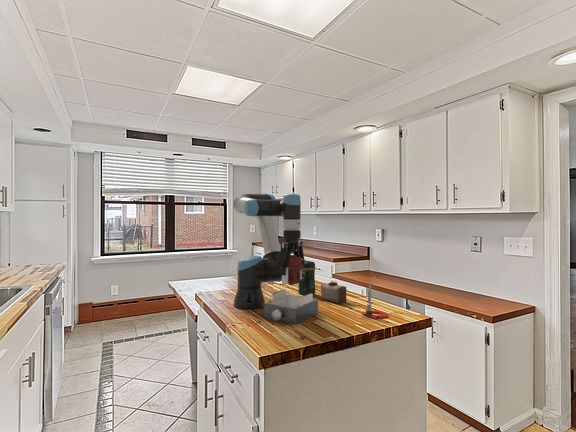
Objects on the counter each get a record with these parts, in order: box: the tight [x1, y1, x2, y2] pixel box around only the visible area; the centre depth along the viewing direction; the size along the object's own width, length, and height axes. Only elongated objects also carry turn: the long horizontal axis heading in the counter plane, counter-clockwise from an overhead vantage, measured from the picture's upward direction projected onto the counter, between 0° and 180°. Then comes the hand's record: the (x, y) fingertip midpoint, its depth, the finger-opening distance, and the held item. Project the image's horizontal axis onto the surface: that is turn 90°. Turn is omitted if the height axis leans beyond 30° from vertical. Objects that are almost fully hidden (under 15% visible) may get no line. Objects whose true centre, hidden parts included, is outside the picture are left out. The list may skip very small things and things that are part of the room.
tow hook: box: [361, 284, 388, 320], centre depth 143 cm, size 9×14×10 cm
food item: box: [320, 281, 347, 305], centre depth 168 cm, size 14×8×10 cm, turn 42°
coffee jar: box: [297, 259, 316, 296], centre depth 183 cm, size 10×8×19 cm
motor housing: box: [264, 289, 319, 326], centre depth 141 cm, size 16×21×10 cm
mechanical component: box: [281, 254, 304, 286], centre depth 142 cm, size 12×10×10 cm
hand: (292, 280), depth 142 cm, fingers closed on mechanical component, 10 cm apart
